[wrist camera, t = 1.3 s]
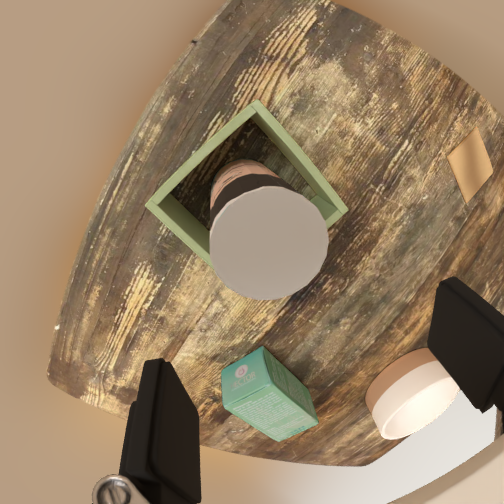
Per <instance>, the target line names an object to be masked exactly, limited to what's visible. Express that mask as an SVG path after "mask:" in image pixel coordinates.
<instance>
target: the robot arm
mask: <svg viewBox="0 0 504 504" xmlns="http://www.w3.org/2000/svg"><path fill="white" fill-rule="evenodd" d="M427 344H428V348H429V350H430V351H431V353H432V354H433V355H434V356H435V357H436V359H437V360H438V361H439V362H440V364H441V365H442V366H443V367H444V369H445V370H446V371H447V372H448V374H449V375H450V376H451V377H452V379H453V380H454V381H455V382H456V384H457V385H458V386H459V388H460V389H461V390H462V391H463V393H464V394H465V395H466V397H467V398H468V399H469V401H470V402H471V403H472V405H473V406H474V407H475V408H476V409H480V411H481V412H482V413H484V412H485V411H487V410H488V409H490V408H491V407H492V406H493V405H494V404H495V406H496V407H497V415H496V428H495V439H494V442H492V443H491V444H490V445H489V446H487V447H486V448H484V449H483V450H482V451H480V452H479V453H477V454H476V455H475V456H473V457H471V458H470V459H469V460H467V461H466V462H464V463H462V464H461V465H459V466H458V467H456V468H455V469H453V470H451V471H450V472H448V473H447V474H445V475H443V476H441V477H439V478H438V479H436V480H434V481H432V482H431V483H429V484H427V485H425V486H423V487H421V488H419V489H417V490H415V491H413V492H412V493H409V494H408V495H405V496H403V497H401V498H399V499H396V500H394V501H392V502H390V503H387V504H504V316H503V315H502V314H501V313H500V312H499V311H498V310H496V309H495V308H494V307H493V306H492V305H490V304H489V303H488V302H487V301H486V300H484V299H483V298H482V297H481V296H479V295H478V294H477V293H476V292H474V291H473V290H472V289H471V288H469V287H468V286H467V285H466V284H464V283H463V282H462V281H460V280H459V279H458V278H456V277H450V278H448V279H445V280H443V281H441V282H440V283H439V286H438V287H437V290H436V296H435V303H434V309H433V315H432V321H431V326H430V331H429V336H428V341H427ZM199 446H200V443H199V415H198V411H197V409H196V407H195V405H194V404H193V402H192V400H191V399H190V397H189V395H188V393H187V392H186V390H185V388H184V386H183V384H182V383H181V381H180V379H179V377H178V375H177V374H176V372H175V370H174V368H173V366H172V364H171V363H170V362H165V360H164V359H163V358H159V359H153V360H147V361H145V363H144V367H143V371H142V376H141V381H140V385H139V390H138V395H137V401H134V402H133V403H132V404H131V407H130V411H129V416H128V421H127V426H126V432H125V439H124V444H123V450H122V456H121V462H120V469H119V475H116V474H112V475H107V476H105V477H103V478H101V479H100V480H99V481H98V482H97V483H96V485H95V486H94V488H93V492H92V501H93V503H92V504H197V503H200V502H201V480H200V479H201V478H200V447H199Z"/></svg>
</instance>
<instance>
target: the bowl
mask: <svg viewBox="0 0 504 504" xmlns="http://www.w3.org/2000/svg"><path fill="white" fill-rule="evenodd" d="M459 389H460V388H459V386H458V385H457V384H456V382H455V381H454V380H453V379H452V377H451V376H450V375H449V374H448V372H447V371H446V370H445V369H444V367H443V366H442V365H441V364H440V362H439V361H438V360H437V359H436V357H435V356H434V355H433V354H432V353H431V351H430V350H429V348H422V349H417V350H414V351H412V352H409V353H407V354H405V355H403V356H402V357H400V358H399V359H397V360H395V361H394V362H393V363H391V364H390V365H389V366H387V367H386V368H385V369H384V370H383V371H382V372H381V373H380V374H379V375H378V376H377V377H376V378H375V379H374V381H373V382H372V383H371V385H370V386H369V388H368V390H367V392H366V396H365V402H366V405H367V407H368V409H369V411H370V413H371V415H372V417H373V419H374V421H375V423H376V425H377V427H378V429H379V431H380V433H381V436H382V437H383V438H385V439H389V440H390V439H398V438H402V437H405V436H408V435H410V434H412V433H415V432H416V431H418V430H420V429H422V428H423V427H425V426H427V425H428V424H429V423H431V422H432V421H433V420H435V419H436V418H437V417H438V416H440V415H441V414H442V413H443V412H444V411H445V410H446V409H447V408H448V406H449V405H450V404H451V403H452V401H453V400H454V399H455V397H456V396H457V394H458V392H459Z"/></svg>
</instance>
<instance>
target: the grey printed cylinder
mask: <svg viewBox="0 0 504 504" xmlns="http://www.w3.org/2000/svg"><path fill="white" fill-rule="evenodd" d="M328 241H329V238H328V232H327V227H326V222H325V220H324V219H323V217H322V215H321V213H320V212H319V210H318V208H317V207H316V206H315V205H314V204H313V203H311V202H310V201H309V200H308V199H306V198H305V197H304V196H303V195H302V194H300V193H299V192H298V191H297V190H295V189H294V188H293V187H292V186H290V185H289V184H288V183H286V182H285V181H284V180H283V179H281V178H280V177H279V176H277V175H276V174H275V173H273V172H272V171H271V170H270V169H268V168H267V167H266V166H264V165H263V164H262V163H260V162H258V161H255V160H252V159H237V160H234V161H231V162H229V163H227V164H226V165H224V166H223V167H221V168H220V170H219V171H218V172H217V174H216V175H215V176H214V179H213V182H212V185H211V205H210V260H211V262H212V265H213V267H214V270H215V273H216V275H217V276H218V277H219V278H220V279H221V281H222V282H223V283H224V284H225V285H226V286H227V288H229V289H231V290H232V291H234V292H236V293H238V294H239V295H241V296H243V297H248V298H252V299H256V300H275V299H279V298H282V297H285V296H288V295H291V294H294V293H295V292H297V291H298V290H300V289H301V288H303V287H304V286H306V285H307V284H308V283H309V282H310V281H311V280H312V279H313V278H314V277H315V275H316V274H317V273H318V272H319V270H320V268H321V266H322V264H323V262H324V260H325V258H326V255H327V248H328Z"/></svg>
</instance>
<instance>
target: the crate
mask: <svg viewBox="0 0 504 504" xmlns="http://www.w3.org/2000/svg"><path fill="white" fill-rule="evenodd" d="M249 118H251V119H252V120H253V121H254V122H255V123H256V124H257V125H258V126H259V127H260V128H261V130H262V131H263V132H264V133H265V134H266V135H267V136H268V137H269V138H270V140H271V141H272V142H273V143H274V144H275V145H276V146H277V148H278V149H279V150H280V151H281V152H282V153H283V154H284V156H285V157H286V158H287V159H288V160H289V161H290V163H291V164H292V165H293V166H294V167H295V169H296V170H297V171H298V172H299V173H300V175H301V176H302V177H303V178H304V179H305V181H306V182H307V183H308V184H309V185H310V187H311V188H312V189H313V190H314V192H315V193H316V194H317V195H315V196H314V197H313V198H312V199H311V200H310V202H311V203H313V204H314V205H315V206H316V207H317V208H318V210H319V212H320V213H321V215H322V217H323V219H324V220H325V222H326V227H327V229H328V228H329V227H330V226H331V225H333V224H334V223H335V222H336V221H337V220H338V219H339V218H341V217H342V215H344V214H345V213H346V212H347V211H348V208H347V207H346V205H345V204H344V203H343V201H342V200H341V199H340V197H339V196H338V195H337V193H336V192H335V191H334V189H333V188H332V187H331V185H330V184H329V183H328V181H327V180H326V179H325V177H324V176H323V175H322V174H321V172H320V171H319V170H318V169H317V167H316V166H315V165H314V163H313V162H312V161H311V160H310V159H309V157H308V156H307V155H306V154H305V152H304V151H303V150H302V149H301V148H300V146H299V145H298V144H297V143H296V142H295V140H294V139H293V138H292V137H291V136H290V134H289V133H288V132H287V131H286V130H285V129H284V127H283V126H282V125H281V124H280V123H279V122H278V121H277V119H276V118H275V117H274V116H273V115H272V114H271V113H270V112H269V111H268V109H267V108H266V107H265V106H264V105H263V104H262V103H261V102H260V101H259V100H258V99H256V100H255V101H253V102H252V103H250V104H249V105H248V106H246V107H245V108H244V109H243V110H242V111H240V112H239V113H238V114H237V115H236V116H235V117H233V118H232V119H231V120H230V121H229V122H228V123H227V124H225V125H224V126H223V127H222V128H221V129H220V130H219V131H218V132H216V133H215V134H214V135H213V136H212V137H211V138H210V139H209V140H208V141H207V142H206V143H204V144H203V145H202V146H201V147H200V148H199V149H198V150H197V151H196V152H195V153H194V154H193V155H192V156H191V157H190V158H189V159H188V160H187V161H186V162H185V163H184V164H183V165H182V166H181V167H180V168H179V169H178V170H177V171H176V172H175V173H174V174H173V175H172V176H171V177H170V178H169V179H168V180H167V181H166V182H165V183H164V184H163V185H162V186H161V187H160V188H159V189H158V190H157V191H156V192H155V193H154V195H153V196H152V197H151V198H150V199H149V201H148V202H147V203H146V204H145V206H146V207H147V208H148V209H149V210H150V211H151V212H152V213H153V214H154V215H155V216H156V217H157V218H158V219H159V220H160V221H161V222H163V223H164V224H165V225H166V226H167V227H168V228H169V229H170V230H171V231H172V232H173V233H174V234H175V235H176V236H178V237H179V238H180V239H181V240H182V241H183V242H184V243H185V244H186V245H187V246H188V247H189V248H191V249H192V250H193V251H194V252H195V253H196V254H197V255H198V256H199V257H200V258H201V259H203V260H204V261H205V262H206V263H207V264H208V265H209V266H210V267H211V268H213V269H214V267H213V265H212V262H211V260H210V231H209V230H208V229H207V228H206V227H205V226H204V225H203V224H201V223H200V222H199V221H198V220H197V219H196V218H195V217H194V216H193V215H192V214H191V213H190V212H189V211H188V210H187V209H186V208H185V207H184V206H183V205H182V204H181V203H180V202H179V201H178V200H177V199H176V198H175V197H174V196H173V195H171V194H170V192H171V191H172V190H173V189H174V188H175V187H176V186H177V185H178V184H179V183H180V182H181V181H182V180H183V179H184V178H185V177H186V176H187V175H188V174H189V173H190V172H191V171H192V170H193V169H194V168H195V167H196V166H197V165H198V164H199V163H200V162H201V161H202V160H203V159H204V158H205V157H207V156H208V155H209V154H210V153H211V152H212V151H213V150H214V149H215V148H216V147H217V146H218V145H220V144H221V143H222V142H223V141H224V140H225V139H226V138H227V137H228V136H230V135H231V134H232V133H233V132H234V131H235V130H236V129H237V128H239V127H240V126H241V125H242V124H243V123H244V122H246V121H247V120H248V119H249ZM245 298H246V297H245Z"/></svg>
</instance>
